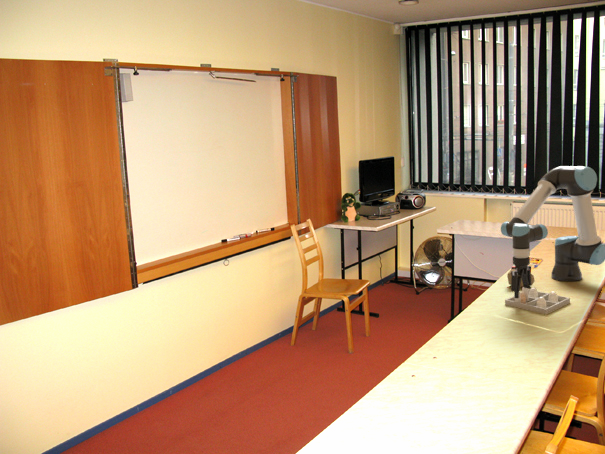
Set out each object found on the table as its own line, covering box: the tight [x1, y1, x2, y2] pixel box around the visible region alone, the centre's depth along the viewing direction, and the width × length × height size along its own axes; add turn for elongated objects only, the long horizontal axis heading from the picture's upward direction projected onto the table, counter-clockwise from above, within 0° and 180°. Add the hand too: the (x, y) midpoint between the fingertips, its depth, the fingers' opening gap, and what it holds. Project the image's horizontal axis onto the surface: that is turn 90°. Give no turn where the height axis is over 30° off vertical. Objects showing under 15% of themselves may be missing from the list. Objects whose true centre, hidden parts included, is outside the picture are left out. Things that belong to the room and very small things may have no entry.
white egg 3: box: [548, 291, 559, 303], centre depth 252 cm, size 4×4×6 cm
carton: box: [504, 288, 571, 315], centre depth 254 cm, size 21×21×3 cm
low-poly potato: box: [507, 268, 535, 288], centre depth 281 cm, size 15×11×12 cm
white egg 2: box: [537, 297, 546, 309], centre depth 247 cm, size 4×4×6 cm
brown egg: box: [521, 292, 526, 304], centre depth 255 cm, size 4×4×6 cm
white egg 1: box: [529, 287, 538, 298], centre depth 260 cm, size 4×4×6 cm
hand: (521, 302), depth 255 cm, fingers open, 6 cm apart
